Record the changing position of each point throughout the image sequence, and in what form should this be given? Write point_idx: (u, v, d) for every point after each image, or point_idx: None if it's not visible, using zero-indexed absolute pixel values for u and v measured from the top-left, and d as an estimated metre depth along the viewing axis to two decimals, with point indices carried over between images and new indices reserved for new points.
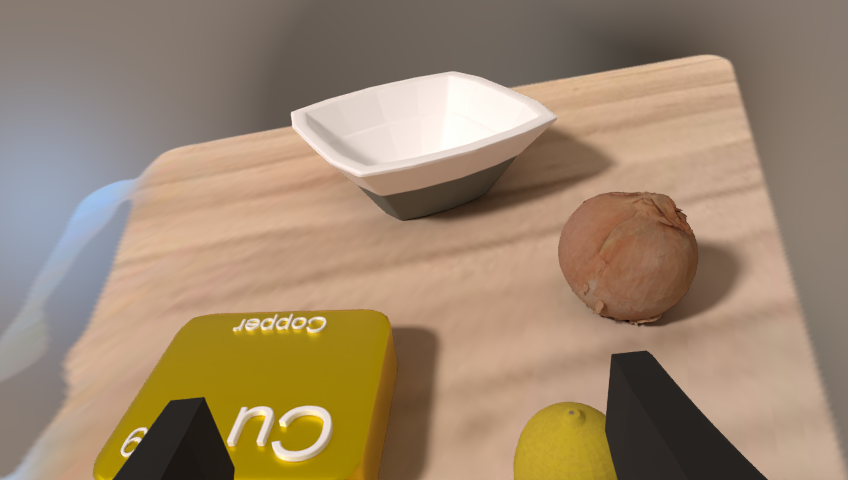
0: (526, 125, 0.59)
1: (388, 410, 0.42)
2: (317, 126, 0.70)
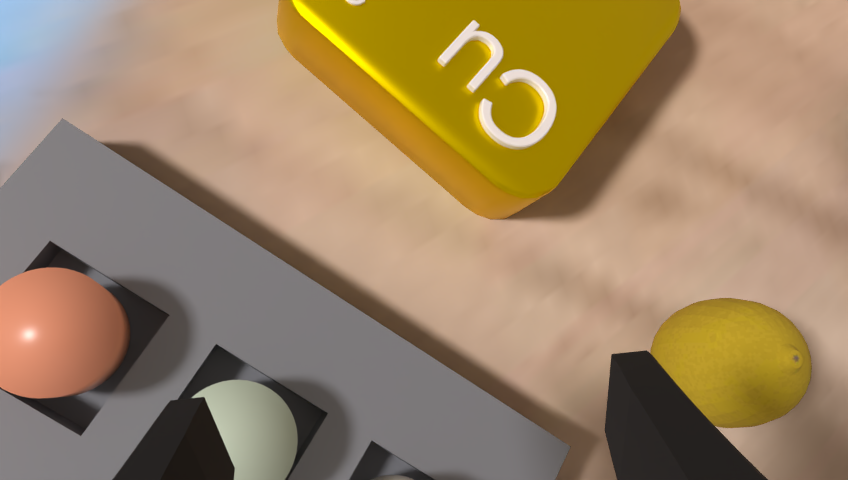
0: None
1: None
2: None
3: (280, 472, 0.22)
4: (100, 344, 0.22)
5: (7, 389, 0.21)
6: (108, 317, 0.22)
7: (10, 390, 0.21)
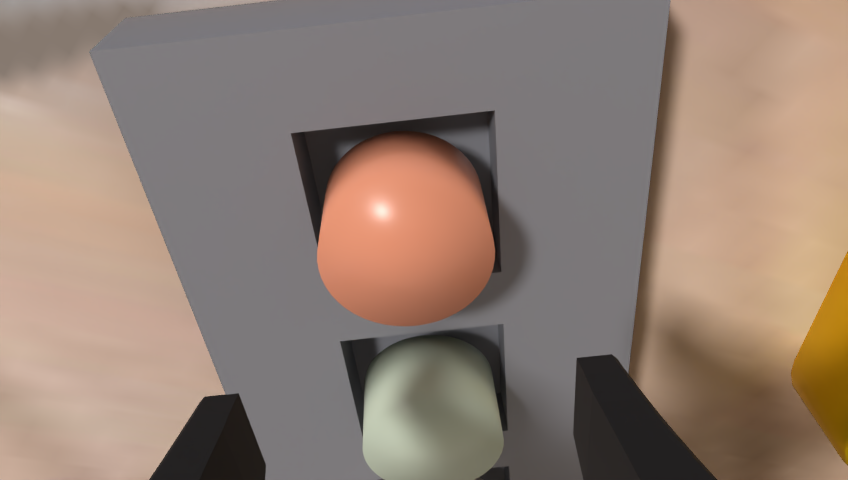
0: None
1: None
2: None
3: None
4: (433, 307, 0.17)
5: (321, 273, 0.16)
6: (465, 294, 0.16)
7: (323, 276, 0.16)
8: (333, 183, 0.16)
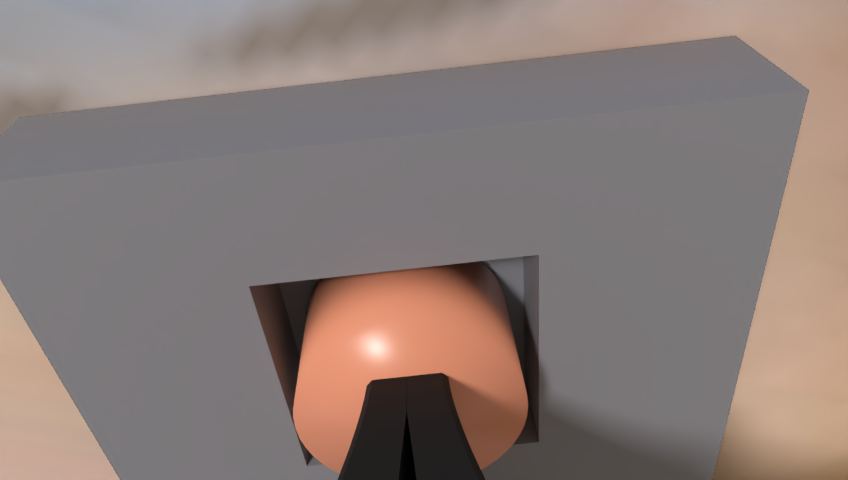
0: None
1: None
2: None
3: None
4: None
5: (300, 432, 0.12)
6: (488, 452, 0.13)
7: (302, 436, 0.12)
8: (316, 309, 0.13)
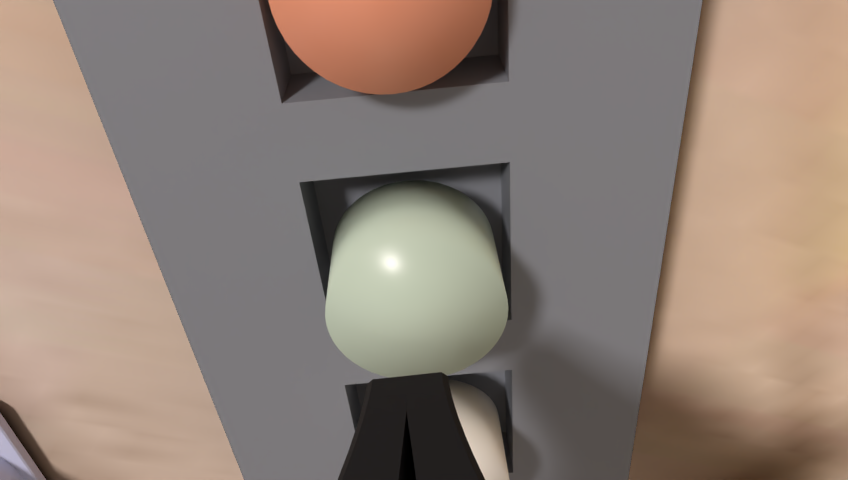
0: None
1: None
2: None
3: (423, 372, 0.16)
4: (414, 66, 0.13)
5: (271, 4, 0.12)
6: (456, 46, 0.13)
7: (274, 10, 0.12)
8: None
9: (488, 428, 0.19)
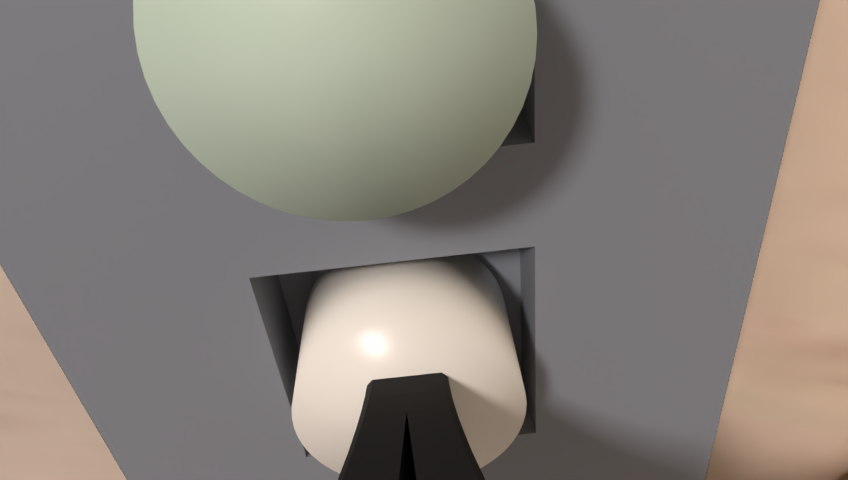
0: None
1: None
2: None
3: (364, 202, 0.08)
4: None
5: None
6: None
7: None
8: None
9: (489, 307, 0.12)
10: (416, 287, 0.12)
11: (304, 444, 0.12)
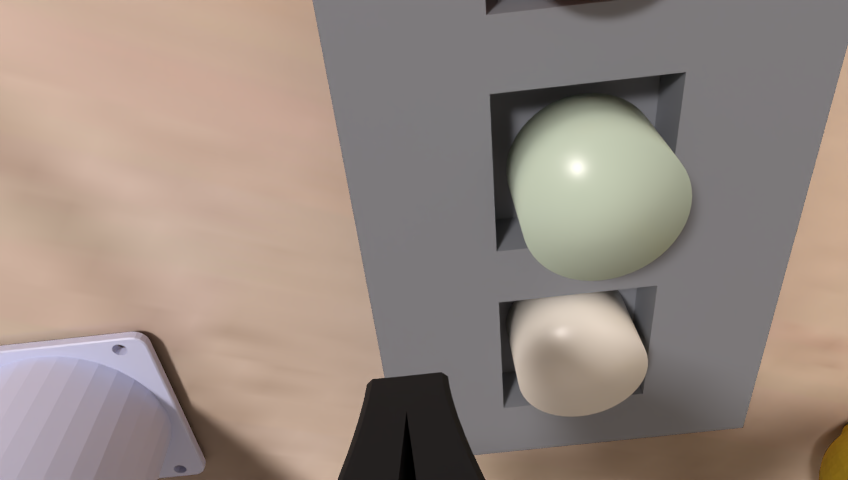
0: None
1: None
2: None
3: (601, 272, 0.17)
4: None
5: None
6: None
7: None
8: None
9: (625, 313, 0.22)
10: (589, 302, 0.21)
11: (521, 389, 0.22)
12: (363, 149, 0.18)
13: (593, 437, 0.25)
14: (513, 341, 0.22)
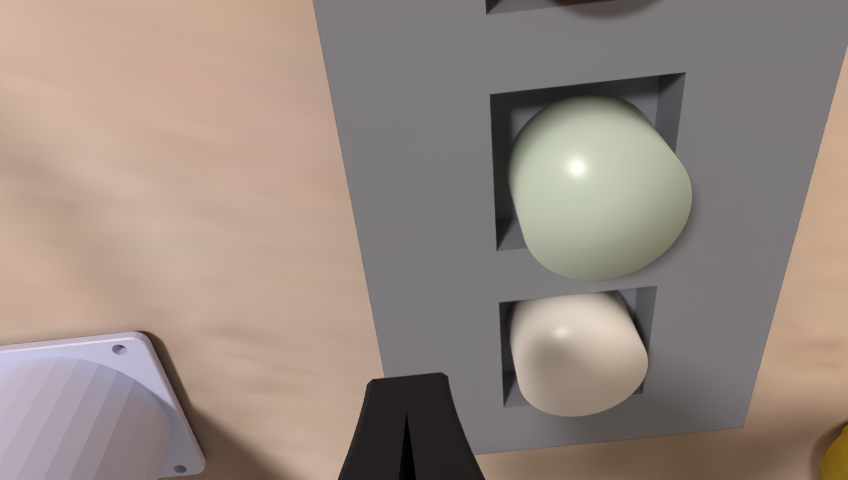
0: None
1: None
2: None
3: (601, 272, 0.17)
4: None
5: None
6: None
7: None
8: None
9: (625, 313, 0.22)
10: (589, 302, 0.21)
11: (521, 389, 0.22)
12: (363, 149, 0.18)
13: (593, 437, 0.25)
14: (513, 341, 0.22)
